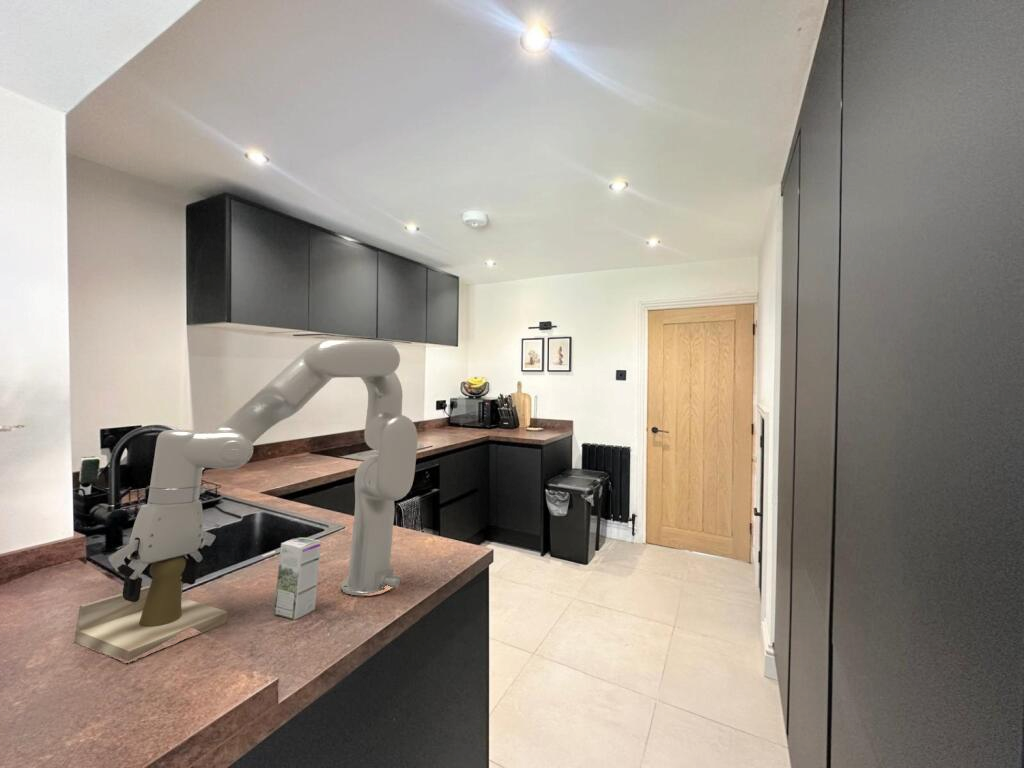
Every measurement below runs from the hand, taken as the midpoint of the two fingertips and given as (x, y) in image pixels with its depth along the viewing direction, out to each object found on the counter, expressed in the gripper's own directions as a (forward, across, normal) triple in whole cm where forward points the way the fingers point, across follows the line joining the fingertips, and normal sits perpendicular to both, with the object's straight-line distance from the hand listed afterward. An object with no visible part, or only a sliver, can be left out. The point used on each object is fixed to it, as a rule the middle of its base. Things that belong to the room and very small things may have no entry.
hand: (161, 590), depth 76 cm
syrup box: (+7, -17, +15) cm, 24 cm away
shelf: (+7, 0, 0) cm, 7 cm away
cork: (+5, -1, 0) cm, 5 cm away
